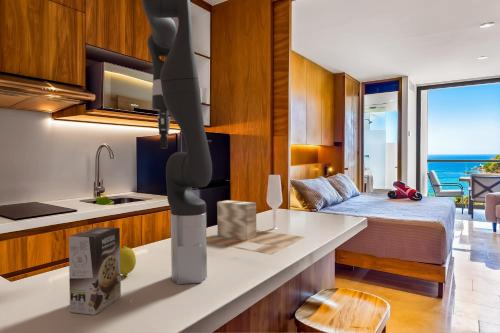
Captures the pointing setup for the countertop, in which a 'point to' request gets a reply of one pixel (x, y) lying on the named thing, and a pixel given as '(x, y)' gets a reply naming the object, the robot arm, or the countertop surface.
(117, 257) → the grey snack box
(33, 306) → the countertop surface
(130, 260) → the lemon
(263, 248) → the trap deck
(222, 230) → the birch block
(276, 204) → the champagne flute
